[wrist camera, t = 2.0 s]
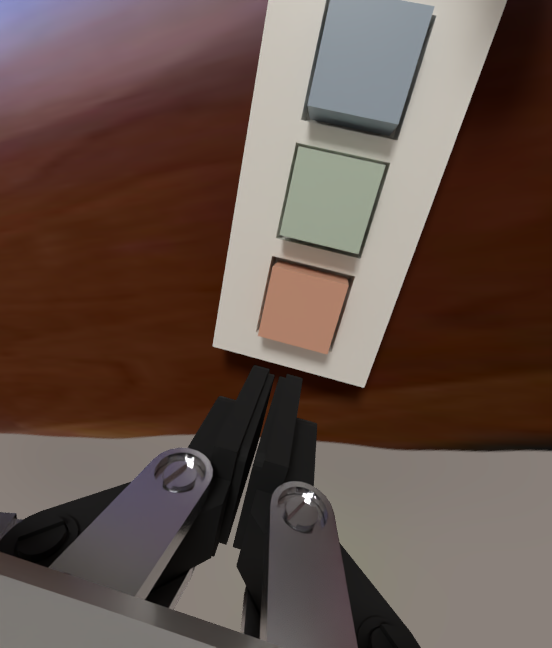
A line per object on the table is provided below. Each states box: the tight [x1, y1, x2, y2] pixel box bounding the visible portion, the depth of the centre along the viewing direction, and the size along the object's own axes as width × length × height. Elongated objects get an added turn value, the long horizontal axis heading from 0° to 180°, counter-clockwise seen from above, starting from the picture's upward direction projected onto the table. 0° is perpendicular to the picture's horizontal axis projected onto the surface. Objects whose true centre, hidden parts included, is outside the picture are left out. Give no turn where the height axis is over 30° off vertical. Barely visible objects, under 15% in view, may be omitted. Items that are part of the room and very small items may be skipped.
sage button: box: [280, 146, 386, 254], centre depth 20 cm, size 5×5×3 cm
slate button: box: [307, 0, 435, 136], centre depth 18 cm, size 5×5×3 cm
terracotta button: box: [258, 261, 349, 354], centre depth 22 cm, size 5×5×3 cm
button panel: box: [213, 0, 507, 388], centre depth 22 cm, size 12×24×3 cm, turn 168°
